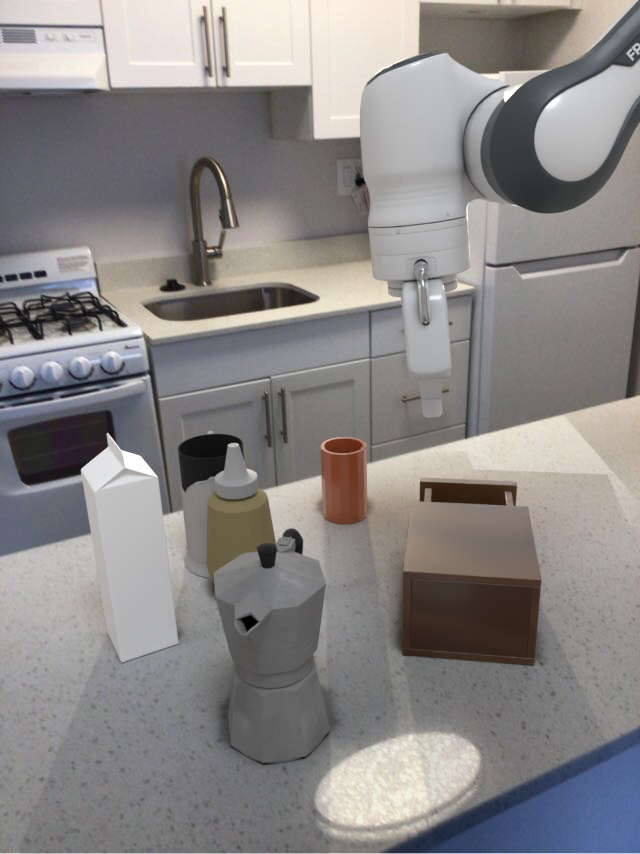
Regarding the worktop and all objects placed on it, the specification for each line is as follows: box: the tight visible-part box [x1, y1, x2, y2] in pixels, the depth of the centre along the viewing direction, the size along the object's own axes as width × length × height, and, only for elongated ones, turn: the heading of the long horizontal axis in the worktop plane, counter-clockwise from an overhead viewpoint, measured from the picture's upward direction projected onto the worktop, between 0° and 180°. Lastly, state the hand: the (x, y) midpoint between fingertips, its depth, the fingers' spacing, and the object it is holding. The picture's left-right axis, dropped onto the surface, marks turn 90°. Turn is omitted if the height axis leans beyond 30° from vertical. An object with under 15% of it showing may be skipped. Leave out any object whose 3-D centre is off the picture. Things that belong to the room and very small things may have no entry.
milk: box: [80, 432, 179, 663], centre depth 74 cm, size 6×6×22 cm
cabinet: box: [401, 500, 542, 667], centre depth 78 cm, size 15×13×10 cm
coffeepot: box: [213, 527, 331, 764], centre depth 64 cm, size 15×9×18 cm, turn 167°
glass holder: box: [177, 430, 245, 579], centre depth 92 cm, size 9×14×15 cm, turn 9°
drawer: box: [419, 477, 518, 506], centre depth 88 cm, size 18×11×8 cm, turn 170°
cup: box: [319, 436, 368, 525], centre depth 101 cm, size 6×6×10 cm
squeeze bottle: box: [207, 443, 277, 584], centre depth 83 cm, size 8×8×18 cm
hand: (431, 399), depth 73 cm, fingers open, 8 cm apart
